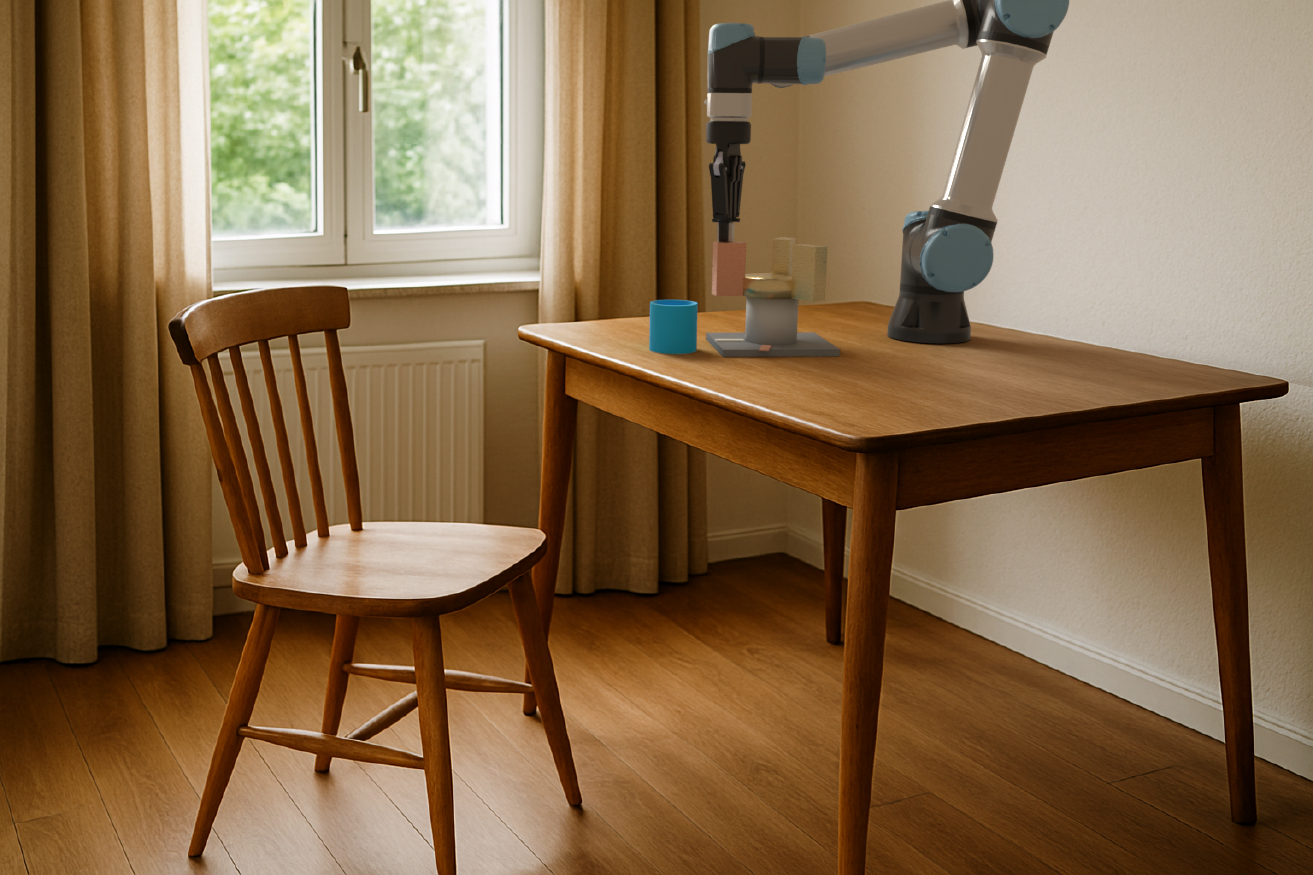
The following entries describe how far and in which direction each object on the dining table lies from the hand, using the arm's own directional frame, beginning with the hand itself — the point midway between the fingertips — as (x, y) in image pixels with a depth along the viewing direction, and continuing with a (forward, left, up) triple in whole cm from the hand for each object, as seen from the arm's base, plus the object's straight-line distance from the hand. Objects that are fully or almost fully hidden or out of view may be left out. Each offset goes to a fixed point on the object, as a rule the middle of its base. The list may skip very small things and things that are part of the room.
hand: (725, 260), depth 216 cm
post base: (-8, +2, -15) cm, 17 cm away
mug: (+10, +2, -15) cm, 18 cm away
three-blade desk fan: (-6, +2, -6) cm, 9 cm away
